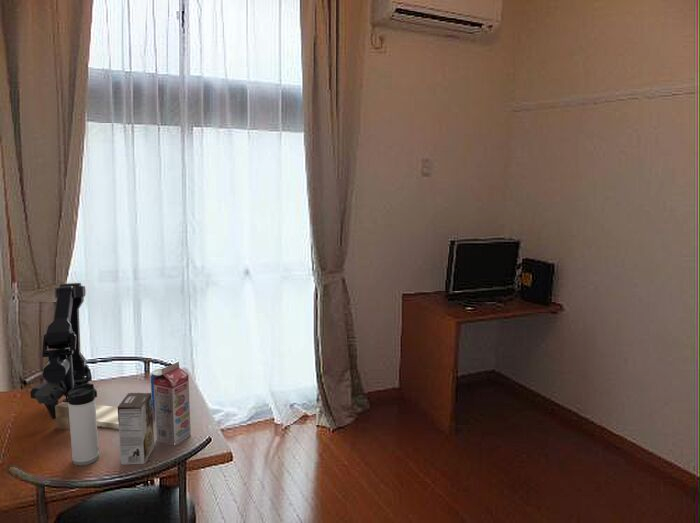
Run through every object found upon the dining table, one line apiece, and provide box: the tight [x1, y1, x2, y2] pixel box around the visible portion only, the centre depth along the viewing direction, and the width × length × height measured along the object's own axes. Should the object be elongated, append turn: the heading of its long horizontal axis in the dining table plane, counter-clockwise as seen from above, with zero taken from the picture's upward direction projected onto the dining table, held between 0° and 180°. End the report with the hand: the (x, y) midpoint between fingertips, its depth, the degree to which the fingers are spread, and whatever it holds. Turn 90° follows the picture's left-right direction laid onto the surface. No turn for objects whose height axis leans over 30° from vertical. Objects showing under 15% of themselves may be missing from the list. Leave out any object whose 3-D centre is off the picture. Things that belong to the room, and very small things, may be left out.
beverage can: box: [150, 368, 162, 409], centre depth 170 cm, size 6×6×12 cm
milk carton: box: [153, 361, 192, 447], centre depth 149 cm, size 7×7×22 cm
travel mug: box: [68, 382, 100, 466], centre depth 137 cm, size 6×7×20 cm
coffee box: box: [116, 392, 155, 465], centre depth 140 cm, size 9×6×16 cm
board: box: [96, 404, 119, 430], centre depth 162 cm, size 22×10×2 cm, turn 77°
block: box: [55, 401, 70, 431], centre depth 161 cm, size 4×12×7 cm, turn 167°
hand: (65, 420), depth 156 cm, fingers open, 8 cm apart
